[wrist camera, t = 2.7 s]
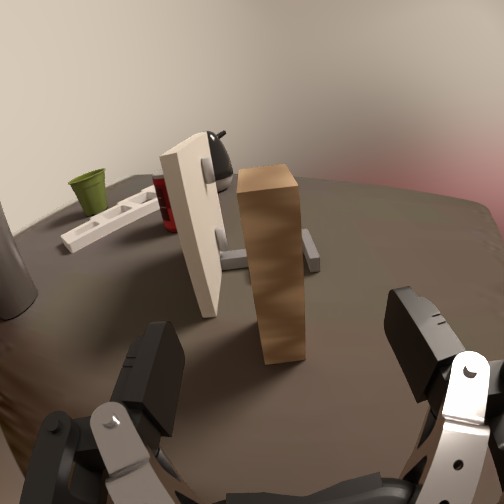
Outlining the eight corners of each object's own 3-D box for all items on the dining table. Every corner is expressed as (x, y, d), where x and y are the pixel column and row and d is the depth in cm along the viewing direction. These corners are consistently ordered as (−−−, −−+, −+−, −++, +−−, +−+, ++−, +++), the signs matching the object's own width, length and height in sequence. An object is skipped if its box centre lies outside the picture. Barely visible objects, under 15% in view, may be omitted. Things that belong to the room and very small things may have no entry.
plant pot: (72, 222, 70) (60, 185, 64) (95, 205, 80) (86, 172, 74) (99, 218, 67) (86, 178, 61) (122, 201, 77) (113, 165, 71)
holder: (72, 255, 50) (68, 244, 49) (57, 238, 61) (54, 229, 60) (224, 182, 78) (222, 173, 77) (186, 179, 89) (184, 171, 88)
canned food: (213, 216, 55) (202, 161, 49) (187, 235, 49) (173, 174, 43) (183, 214, 58) (172, 163, 53) (157, 231, 52) (143, 176, 47)
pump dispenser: (243, 187, 69) (234, 126, 61) (204, 199, 65) (192, 135, 57) (225, 181, 77) (216, 127, 69) (190, 191, 73) (179, 135, 65)
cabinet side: (202, 317, 30) (159, 156, 21) (216, 240, 45) (196, 133, 37) (331, 302, 29) (329, 133, 21) (303, 229, 45) (293, 120, 36)
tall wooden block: (264, 364, 23) (236, 193, 16) (261, 318, 28) (239, 169, 21) (305, 359, 23) (298, 185, 16) (296, 314, 28) (285, 163, 21)
